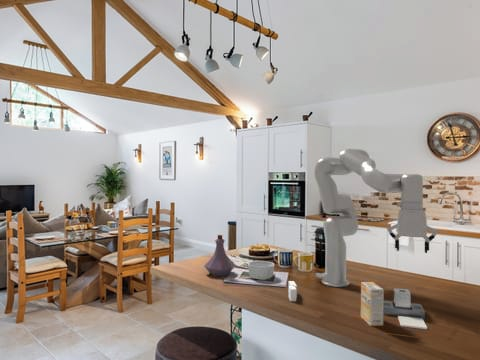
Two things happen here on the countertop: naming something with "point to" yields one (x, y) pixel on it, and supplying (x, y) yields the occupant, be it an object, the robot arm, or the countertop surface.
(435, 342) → the countertop surface
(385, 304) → the grey recessed block
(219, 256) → the flask
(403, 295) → the grey rectangular block
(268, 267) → the ramekin
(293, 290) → the white double box
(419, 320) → the coaster
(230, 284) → the countertop surface
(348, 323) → the countertop surface
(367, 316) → the supplement box
